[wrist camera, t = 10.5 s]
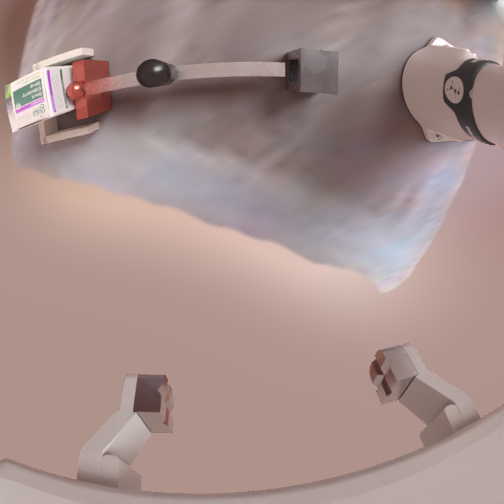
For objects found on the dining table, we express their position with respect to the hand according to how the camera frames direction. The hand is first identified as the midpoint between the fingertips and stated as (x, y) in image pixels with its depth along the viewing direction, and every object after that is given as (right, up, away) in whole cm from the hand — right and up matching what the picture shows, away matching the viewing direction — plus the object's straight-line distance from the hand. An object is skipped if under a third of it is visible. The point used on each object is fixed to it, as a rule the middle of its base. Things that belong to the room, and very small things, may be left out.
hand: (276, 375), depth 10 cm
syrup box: (-25, +27, +21) cm, 43 cm away
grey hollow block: (+6, +29, +24) cm, 38 cm away
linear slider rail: (-10, +27, +22) cm, 37 cm away
